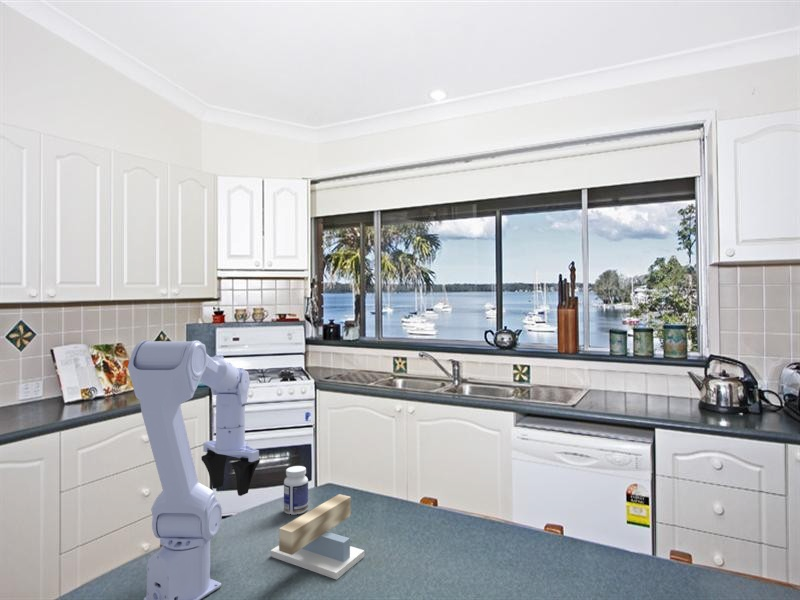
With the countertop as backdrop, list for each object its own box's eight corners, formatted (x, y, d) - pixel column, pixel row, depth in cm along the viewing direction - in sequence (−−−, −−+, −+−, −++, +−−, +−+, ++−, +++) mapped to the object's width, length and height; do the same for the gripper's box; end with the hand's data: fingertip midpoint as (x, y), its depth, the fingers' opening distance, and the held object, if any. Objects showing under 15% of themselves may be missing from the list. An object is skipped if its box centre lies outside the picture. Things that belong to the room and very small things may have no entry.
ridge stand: (336, 579, 85) (336, 552, 85) (270, 556, 93) (270, 531, 93) (364, 556, 93) (364, 531, 93) (301, 537, 101) (301, 514, 101)
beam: (291, 554, 84) (291, 532, 84) (279, 550, 86) (279, 528, 86) (350, 515, 100) (350, 496, 100) (339, 512, 101) (339, 494, 101)
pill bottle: (311, 506, 116) (311, 465, 116) (304, 516, 111) (304, 473, 111) (288, 505, 117) (288, 464, 117) (280, 515, 111) (280, 472, 111)
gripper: (269, 425, 99) (269, 490, 99) (222, 417, 106) (222, 478, 106) (243, 433, 93) (243, 502, 93) (195, 424, 100) (194, 488, 100)
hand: (230, 490), depth 99 cm, fingers open, 7 cm apart
